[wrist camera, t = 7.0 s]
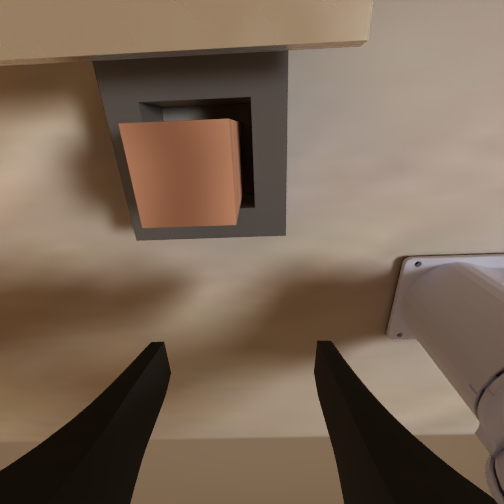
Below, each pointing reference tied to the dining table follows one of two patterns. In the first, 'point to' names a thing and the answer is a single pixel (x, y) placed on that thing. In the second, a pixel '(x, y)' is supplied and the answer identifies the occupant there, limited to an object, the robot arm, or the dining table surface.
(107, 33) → the beige block
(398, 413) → the dining table surface
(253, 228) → the socket
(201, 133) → the peg
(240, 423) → the dining table surface
